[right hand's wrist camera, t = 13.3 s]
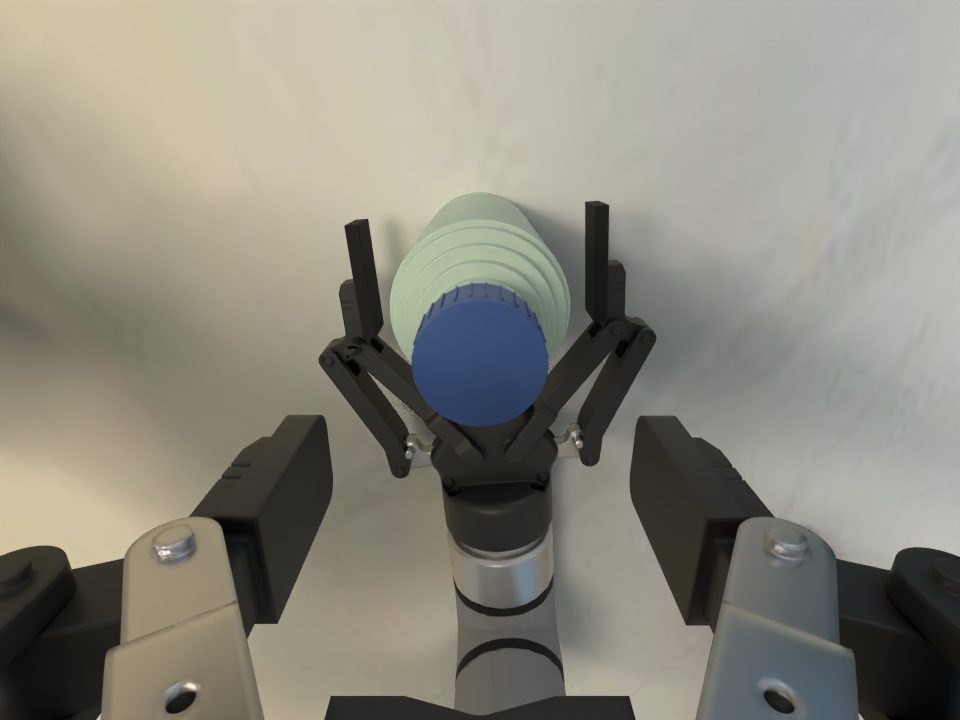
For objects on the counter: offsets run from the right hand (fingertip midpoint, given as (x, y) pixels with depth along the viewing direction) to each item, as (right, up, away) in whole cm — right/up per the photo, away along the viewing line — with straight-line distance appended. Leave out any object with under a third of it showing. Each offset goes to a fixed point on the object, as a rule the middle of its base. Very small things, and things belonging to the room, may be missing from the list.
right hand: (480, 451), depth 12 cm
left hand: (0, +10, +18) cm, 20 cm away
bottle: (0, +10, +25) cm, 27 cm away
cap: (0, +2, +5) cm, 5 cm away
